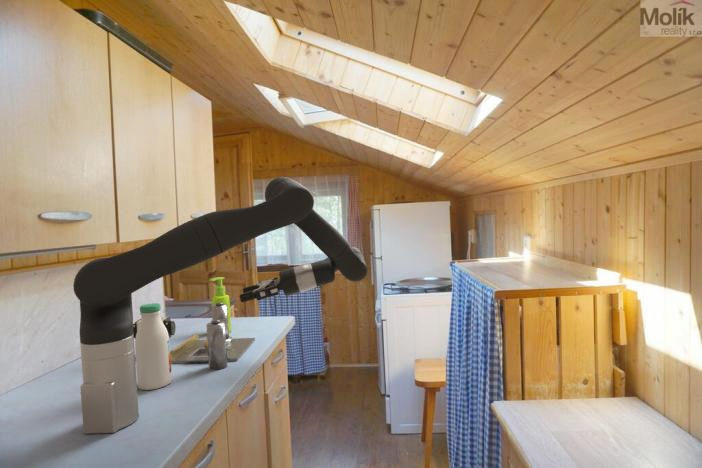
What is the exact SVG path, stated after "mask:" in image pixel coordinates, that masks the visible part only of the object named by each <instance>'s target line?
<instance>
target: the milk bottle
mask: <svg viewBox="0 0 702 468" xmlns="http://www.w3.org/2000/svg"><path fill="white" fill-rule="evenodd" d="M161 309H162V306H161V304H160V303H157V302H156V303H155V302H154V303H146V304H142V305H140V307H139V312H140V313H139V314H140V316H141V318H140V319H141V323H140V326H139V329H138V331H137V334H136V339H135V338H134V352H135V366H136V381H137V388H138V389H140V390H143V391H153V390H156V389H160V388H161V389H162V388H163V387H167V386H168V385H169V384H171V382H172V380H173V376H172V375H173V373H172V364H171V355H170V351H171V344H170V342H171V341H170V338H169V335H168V331H167V329H166V327H165V325H164V324H163V322H162V320H161Z"/></svg>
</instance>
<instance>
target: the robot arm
mask: <svg viewBox="0 0 702 468" xmlns="http://www.w3.org/2000/svg"><path fill="white" fill-rule="evenodd" d="M264 200H265V201H263V202H261V203H258V204H256V205H252V206H248V207H241V208H231V209H223V210H217V211H212V212H209V213H205V214H203V215H200V216H198V217H195V218H193V219H191V220H188V221H186V222H184V223H182V224H180V225H178V226H176V227H174V228H172V229H170V230H168V231H166V232H164V233H163V234H162V235H160V236H158V237H156V238H155V239H152V240H151V241H150V242H148V243H146V244H144V245H142V246H139V247H136V248H134V249H131V250H127V251H125V252H122V253H119V254H115V255H112V256H109V257H100V258H99V257H98V258H94V259H93V260H90V261H89V262H87V263H86V264H84V265H83V266H82V267H81V268H80V269H79V270H78V271H77V273H76V275H75V277H74V278H73V279H74V281H73V292H74V295H75V296H76V298H77V299H78V300H79V308H80V310H79V311H80V321H79V332H78V333H79V342H80V344H79V345H80V355H81V356H80V358H81V370H82V384H81V385H80V397H81V398H80V401H81V413H82V426H83V427H82V428H83V434H112V433H116V432H118V431H119V430H121V429H124V428H126V427H128V426H130V425H131V424H133V423H135V422H136V421H137V420H138V418H139V417H140V413H139V397H138V396H139V395H138V383H137V368H136V351H135V338H134V336H133V324H134V316H133V315H134V314H133V312H134V311H133V298H132V296H133V295H132V294H133V293H135V292H136V291H139V290H140V289H142V288H143V287H145V286H148V285H149V284H151V283H153V282H155V281H158V280H159V279H161V278H164V277H166V276H169V275H171V274H174V273H177V272H180V271H183V270H185V269H188V268H191V267H194V266H196V265H198V264H200V263H201V264H202V263H203V262H206V261H208V260H210V259H213V258H215V257H217V256H219V255H221V254H223V253H225V252H227V251H229V250H231V249H234V248H235V247H237V246H239V245H242V244H244V243H247V242H249V241H252V240H254V239H255V238H258V237H260V236H262V235H264V234H267V233H270V232H273V231H275V230H279V229H283V228H284V227H287V226H291V225H295V226H297V228H298V229H300V230H301V232H303V233H304V234H305V236H307V237H308V239H309V240H311V242H312V243H314V245H315V246H316V247H317V248H318V249H319V250H320V251H322V252H321V253H323V254H325V256H326V258H324V259H322V260H319V261H315V262H311V263H305V264H300V265H296V266H293V267H289V268H286V269H285V268H284V269H281V270H279V272H278V276H279V278H278V276H275V277H272V278H269V279H265V280H260V281H258V282H256V283H255V284H253V285H249V286H245V287H243V288H242V293H240V294H239V300H240V302H241V303H245V302H246V303H247V302H249V301H253V300H256V301H262V300H264V299H267V298H271V297H273V296H278V295H279V294H280V291H283V295H284V296H285V297H289V296H292V295H297V294H299V293H304V292H308V291H310V290H313V289H314V288H318V287H321V286H324V285H328V284H331V283H333V282H334V281H335V279H336V272H337V271H339V272H340V274H341V275H342V276H343V277H344V278H345V279H346V280H348V281H350V282H360V281H362V280H364V279H365V277H367V274H368V265H367V262H366V260H365V258H364V256H363V254H362V252H361V250H360V248H358V247H353V246H351V244H350V242H349V241H348V240H347V238H346V237H345V236H344V235H343V234H342V233H341V232H340V231H339V230H338V229H337V228H336V227H335V226H334V225H332V223H330V222H329V221H328V220H326V218H324V217H323V215H321V214H319V213H318V212H317V211H316V210H315V209H314V206H315V199H314V196H313V193H312V192H311V191H310V190H309V189H308V188H307V187H306V186H304V185H302V184H301V183H299V182H298V181H296V180H294V179H293V178H289V177H285V176H280V177H279V176H278V177H275V178H274V179H272V180H271V181H270V182H269V183H268V184H267V185H266V188H265V191H264Z"/></svg>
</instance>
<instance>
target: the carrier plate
mask: <svg viewBox="0 0 702 468" xmlns="http://www.w3.org/2000/svg"><path fill="white" fill-rule="evenodd" d="M215 304H216V305H211V316H212V317H211V318H212V320H217V319H219V320H220V321H223V322H225V332H226V349H227V362H238V361H239V360H240V358H241V357H242V356H243V355H244V354H245V353H246V352H247V350H248V349H249V348H250V347H251V346H252V344H254V342H255V341H256V337H243V338H241V337H239V338H238V337H237V338H233V337H232V336H230V333H229V327H228V309H227V304H223V302H218V303H215ZM212 320H211V321H212ZM170 355H171V363H172V364H192V363H191V362H199V363H209V358H208V341H207V338H205V339H200V335H199V333H195V334H193V335H192V336H191V337H189V338H187V339H186V340H185V341H184V342H182V343H180V344H179V345H178V346H176V347H175V348H173V349H172V350H170Z"/></svg>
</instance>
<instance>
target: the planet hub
mask: <svg viewBox="0 0 702 468" xmlns="http://www.w3.org/2000/svg"><path fill="white" fill-rule="evenodd" d="M206 337H207V341H208V358H209V362H208V368H210V369H209V370H211V369H213V370H212V371H219V369H220V370H223V369H225V368H227V367H228V361H227V349H226V332H225V322H223V321H220V320H219V319H217V320H211V321H210V322H209V323H208V322H207V324H206Z"/></svg>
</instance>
